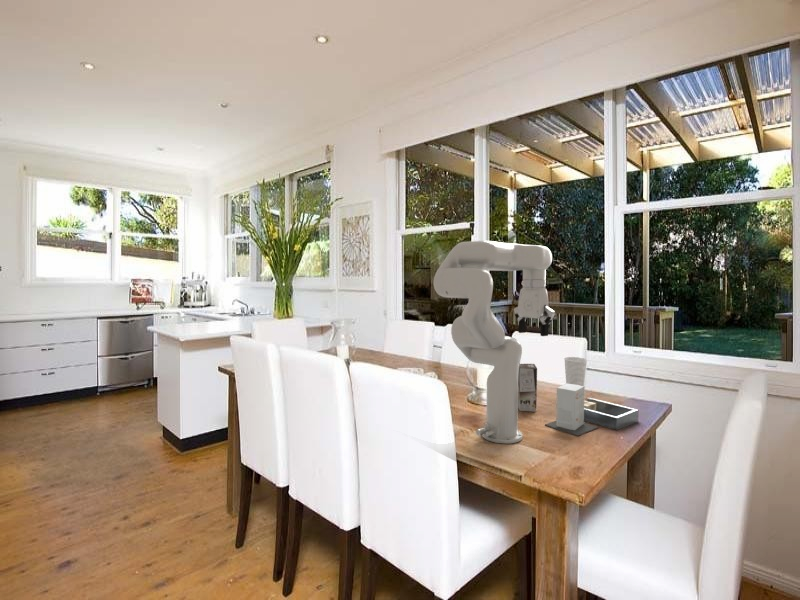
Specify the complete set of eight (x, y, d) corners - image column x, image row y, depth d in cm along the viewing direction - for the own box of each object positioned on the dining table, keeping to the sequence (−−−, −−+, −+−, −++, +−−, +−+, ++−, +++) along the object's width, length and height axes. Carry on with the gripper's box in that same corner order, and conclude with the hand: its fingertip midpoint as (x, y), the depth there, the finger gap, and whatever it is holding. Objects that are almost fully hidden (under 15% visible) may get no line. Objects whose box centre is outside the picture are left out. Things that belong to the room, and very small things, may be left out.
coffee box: (537, 412, 162) (537, 368, 161) (518, 411, 163) (519, 367, 162) (534, 404, 171) (535, 363, 170) (517, 403, 172) (517, 362, 171)
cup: (559, 395, 183) (560, 358, 182) (570, 392, 188) (571, 356, 187) (578, 400, 176) (579, 362, 175) (589, 396, 181) (590, 359, 180)
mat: (577, 436, 138) (577, 435, 138) (544, 425, 148) (544, 424, 148) (598, 428, 145) (598, 426, 145) (566, 418, 155) (566, 417, 155)
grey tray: (616, 430, 143) (617, 418, 143) (566, 415, 158) (566, 404, 158) (638, 421, 151) (638, 409, 151) (588, 407, 166) (588, 397, 166)
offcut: (586, 417, 156) (587, 406, 156) (580, 415, 158) (580, 404, 158) (595, 414, 159) (596, 403, 159) (589, 412, 161) (589, 401, 161)
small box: (565, 420, 152) (566, 382, 151) (584, 424, 147) (585, 386, 147) (555, 426, 146) (556, 387, 145) (574, 431, 141) (575, 390, 141)
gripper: (507, 284, 158) (506, 332, 159) (547, 285, 143) (545, 338, 144) (522, 284, 162) (521, 330, 163) (562, 285, 147) (561, 336, 148)
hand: (533, 334), depth 153 cm, fingers open, 9 cm apart
